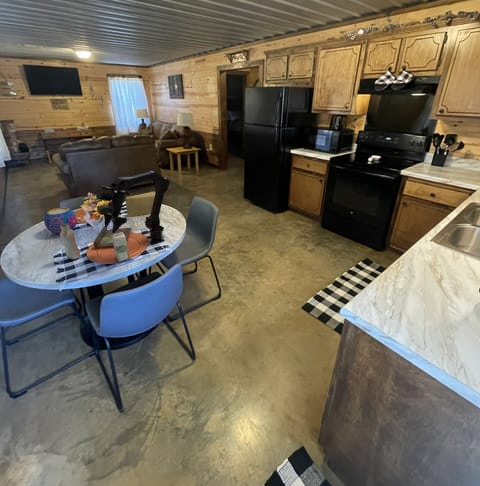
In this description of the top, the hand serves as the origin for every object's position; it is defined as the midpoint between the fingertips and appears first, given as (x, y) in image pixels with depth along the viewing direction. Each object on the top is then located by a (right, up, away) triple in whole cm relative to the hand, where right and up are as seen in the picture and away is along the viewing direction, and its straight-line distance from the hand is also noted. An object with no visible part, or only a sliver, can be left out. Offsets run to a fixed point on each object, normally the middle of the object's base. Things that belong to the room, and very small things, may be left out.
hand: (109, 229), depth 137 cm
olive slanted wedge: (-10, -8, +26) cm, 29 cm away
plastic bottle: (-22, -16, +6) cm, 28 cm away
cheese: (-5, +7, +61) cm, 61 cm away
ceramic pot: (-47, -4, +35) cm, 58 cm away
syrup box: (+5, -16, +6) cm, 18 cm away
